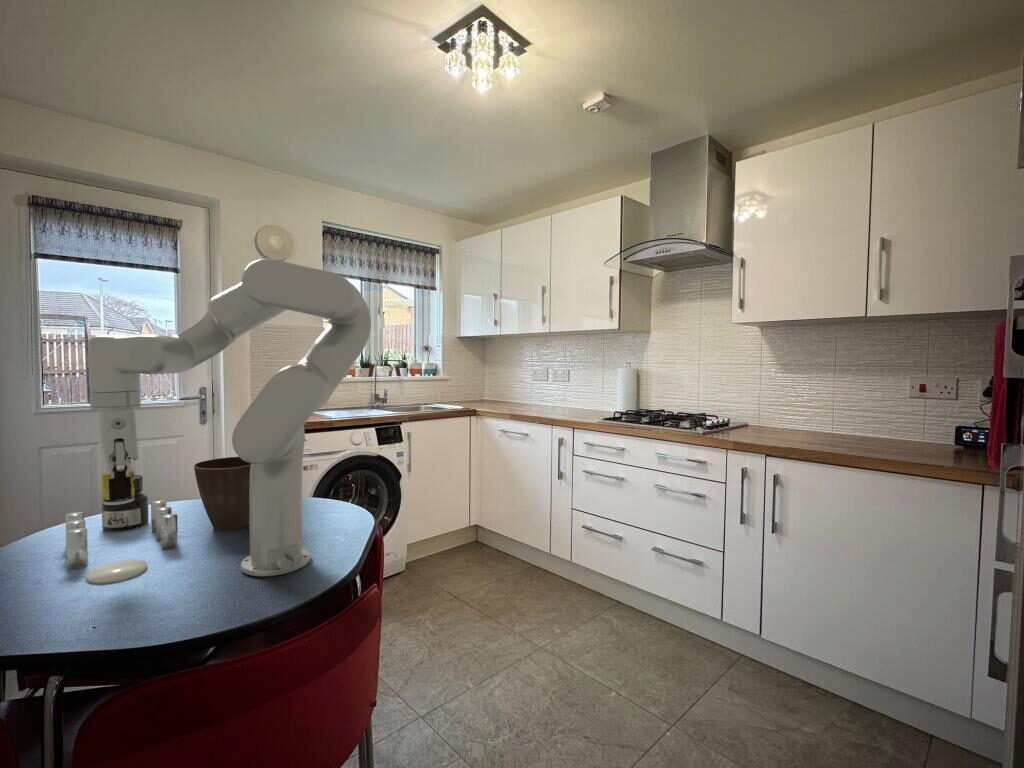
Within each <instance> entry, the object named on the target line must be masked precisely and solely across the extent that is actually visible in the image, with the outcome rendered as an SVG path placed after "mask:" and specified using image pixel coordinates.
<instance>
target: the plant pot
mask: <svg viewBox="0 0 1024 768" xmlns="http://www.w3.org/2000/svg"><path fill="white" fill-rule="evenodd" d="M250 467H251V463H248V462H246V461H244V460H242V459H241V458H240V457H239V456H229V457H228V456H227V457H220V458H213V459H209V460H208V459H207V460H202V461H199V462H197V463H195V464H193V470H194V475H195V480H196V484H197V489H198V492H199V495H200V499H201V502H202V505H203V507H204V510H205V512H206V515H207V517H208V519H209V522H210V523H211V525H212V527H213V530H215V531H218V532H229V531H230V530H232V531H235V530H236V529H237V530H239V529H240V528H241V529H243V528H246V527H247V526H248V525H249V524H250V504H249V490H250ZM245 526H246V527H245ZM237 530H236V531H237Z"/></svg>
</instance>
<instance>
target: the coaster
mask: <svg viewBox="0 0 1024 768" xmlns="http://www.w3.org/2000/svg"><path fill="white" fill-rule="evenodd" d="M147 569H148V563H147V561H146V560H143V559H124V560H119V561H118V560H117V561H112V562H109V563H105V564H101V565H99V566H97V567H95V568H93V569H91V570H90V571H87V573H86V581H87V582H88V583H90V584H97V585H98V584H111V583H117V582H120V581H121V582H122V581H125V580H129V579H132V578H134V577H137V576H140V575H141V574H143V573H144V572H146V571H147Z"/></svg>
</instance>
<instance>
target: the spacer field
mask: <svg viewBox="0 0 1024 768" xmlns="http://www.w3.org/2000/svg"><path fill="white" fill-rule="evenodd" d="M150 509H151V511H150V513H151V514H150V518H151V520H150V521H151V524H150V525H151V533H152V534H155V541H156V542H160V550H161V551H170V550H175V549H177V548H178V546H179V542H178V541H179V540H178V539H179V538H178V535H179V534H178V532H179V531H178V528H179V527H178V523H179V522H178V514H177V513H173V508H172V507H171V506H168V505H167V500H164V499H160V500H154V501H151V502H150ZM86 525H87V524H86V520H85V512H82V511H78V512H71V513H67V514H65V548H66V558H67V559H66V560H67V565H66V566H67V569H68V570H77V569H81V568H85V567H87V566H88V565H89V562H88V561H89V555H88V554H89V553H88V549H89V547H88V529H87V528H86Z"/></svg>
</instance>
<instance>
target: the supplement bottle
mask: <svg viewBox="0 0 1024 768" xmlns="http://www.w3.org/2000/svg"><path fill="white" fill-rule="evenodd" d="M125 460H126V457H125ZM128 460H129V476H131V497H130V498H125V499H118V500H110V498H109V479H111V478H110V464H109V463H107V462H105V461H104V468H105V469H104V470H103V471H102V473H101V474H102V501H103V502H102V503H104V504H105V505H119V504H125V503H129V502H131V501H133V500H134V499H135V490H134V475H135V469H134V467H132V463H133V462H132V458H130V457H129V456H128ZM113 461H116V459H112V462H113ZM114 466H116V465H114Z"/></svg>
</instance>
